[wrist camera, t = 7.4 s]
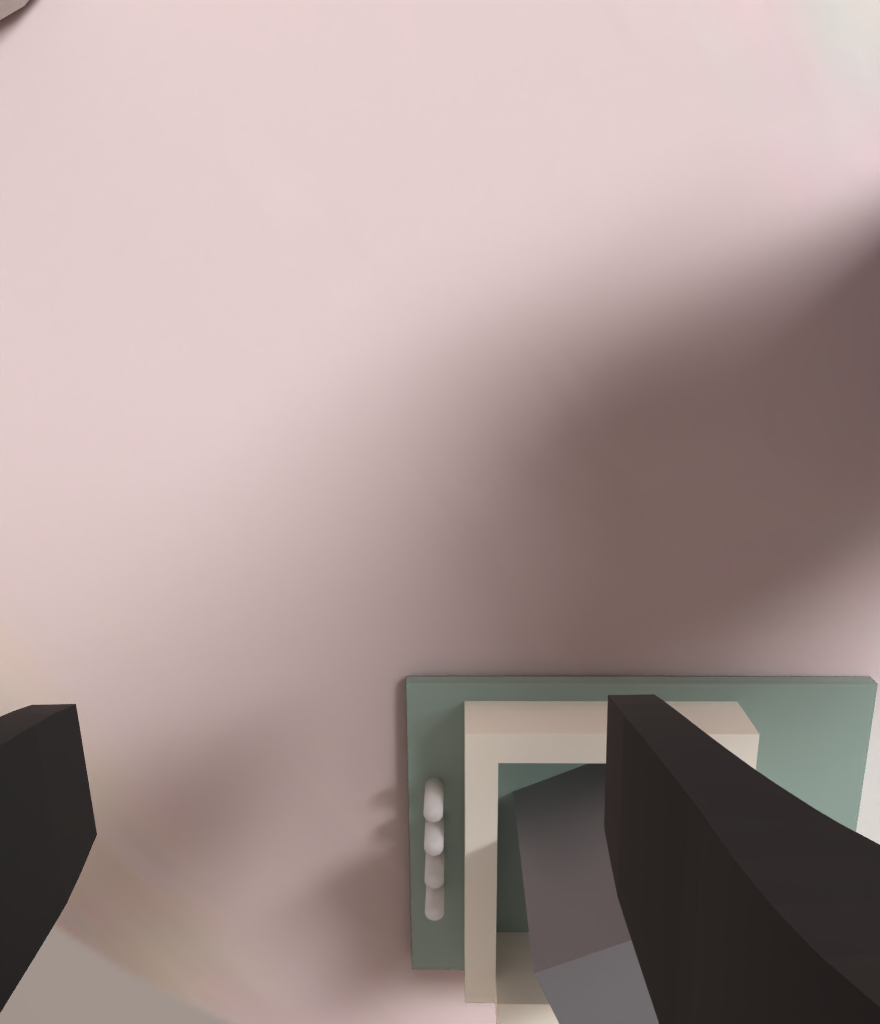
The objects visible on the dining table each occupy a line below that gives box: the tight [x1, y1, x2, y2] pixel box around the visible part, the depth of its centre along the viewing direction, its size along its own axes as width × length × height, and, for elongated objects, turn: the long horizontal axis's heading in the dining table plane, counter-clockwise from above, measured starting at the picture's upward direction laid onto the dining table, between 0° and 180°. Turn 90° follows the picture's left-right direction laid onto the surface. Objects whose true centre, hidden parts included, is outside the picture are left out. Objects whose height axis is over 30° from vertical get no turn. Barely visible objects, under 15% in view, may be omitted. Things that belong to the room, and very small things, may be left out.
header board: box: [406, 676, 877, 1024], centre depth 21 cm, size 12×9×3 cm
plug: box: [513, 763, 659, 1024], centre depth 19 cm, size 3×4×7 cm
